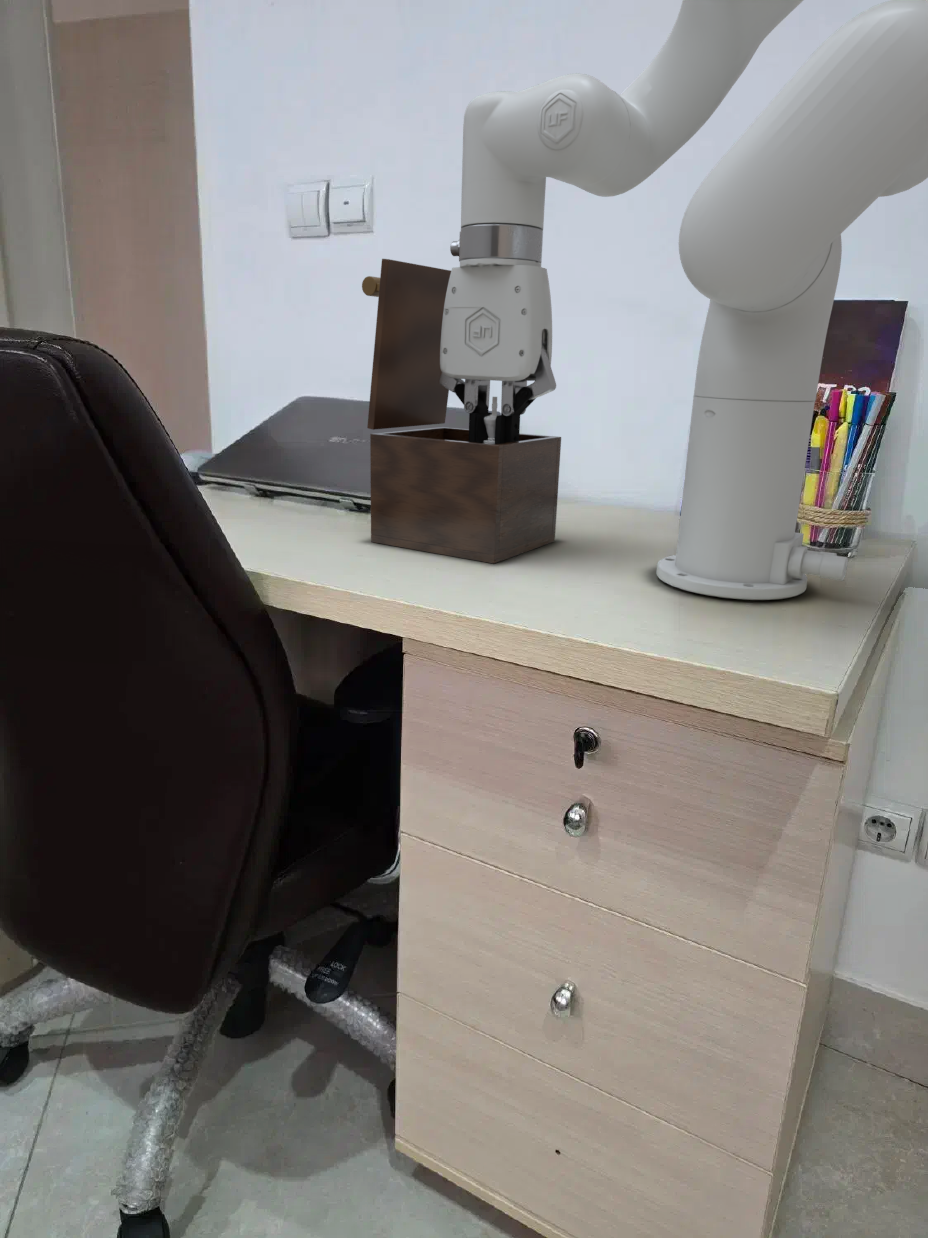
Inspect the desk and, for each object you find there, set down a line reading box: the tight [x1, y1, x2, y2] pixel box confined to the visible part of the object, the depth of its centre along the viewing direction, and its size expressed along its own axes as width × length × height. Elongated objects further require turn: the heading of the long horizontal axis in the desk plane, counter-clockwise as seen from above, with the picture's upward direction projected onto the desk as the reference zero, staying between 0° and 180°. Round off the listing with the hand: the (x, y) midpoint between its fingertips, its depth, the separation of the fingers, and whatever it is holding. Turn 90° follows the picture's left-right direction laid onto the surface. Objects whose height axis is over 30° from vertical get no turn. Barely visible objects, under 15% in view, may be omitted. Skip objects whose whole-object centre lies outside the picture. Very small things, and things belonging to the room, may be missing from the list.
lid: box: [361, 258, 451, 431], centre depth 84 cm, size 15×13×6 cm
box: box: [369, 426, 562, 564], centre depth 84 cm, size 15×13×11 cm
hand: (493, 454), depth 81 cm, fingers closed
